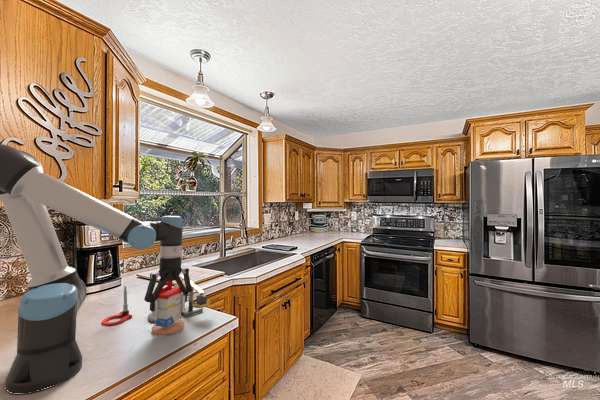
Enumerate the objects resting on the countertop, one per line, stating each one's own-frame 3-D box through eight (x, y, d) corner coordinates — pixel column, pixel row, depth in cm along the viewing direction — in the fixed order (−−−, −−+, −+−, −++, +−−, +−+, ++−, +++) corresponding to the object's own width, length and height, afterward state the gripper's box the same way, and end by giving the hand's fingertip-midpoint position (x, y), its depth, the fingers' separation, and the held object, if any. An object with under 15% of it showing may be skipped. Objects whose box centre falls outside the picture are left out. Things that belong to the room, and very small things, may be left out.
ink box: (166, 327, 95) (167, 287, 96) (154, 326, 96) (156, 286, 97) (181, 318, 104) (182, 280, 104) (170, 316, 105) (171, 279, 105)
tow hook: (110, 328, 100) (134, 318, 108) (110, 295, 99) (133, 287, 108) (96, 324, 103) (121, 314, 112) (96, 291, 103) (120, 284, 111)
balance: (196, 324, 104) (197, 287, 105) (168, 307, 120) (170, 275, 120) (214, 317, 110) (215, 282, 111) (185, 302, 126) (187, 272, 126)
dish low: (159, 339, 92) (159, 335, 92) (147, 328, 99) (147, 325, 99) (189, 328, 101) (189, 325, 101) (176, 319, 108) (176, 316, 108)
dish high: (154, 325, 102) (154, 322, 102) (143, 317, 109) (143, 314, 109) (182, 316, 111) (182, 313, 111) (170, 309, 118) (170, 306, 118)
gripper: (142, 262, 90) (140, 328, 89) (202, 254, 107) (201, 309, 106) (134, 258, 94) (132, 321, 94) (193, 251, 111) (191, 304, 111)
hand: (168, 315), depth 100 cm, fingers closed on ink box, 9 cm apart
